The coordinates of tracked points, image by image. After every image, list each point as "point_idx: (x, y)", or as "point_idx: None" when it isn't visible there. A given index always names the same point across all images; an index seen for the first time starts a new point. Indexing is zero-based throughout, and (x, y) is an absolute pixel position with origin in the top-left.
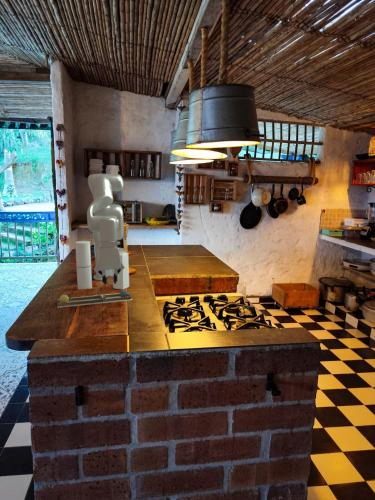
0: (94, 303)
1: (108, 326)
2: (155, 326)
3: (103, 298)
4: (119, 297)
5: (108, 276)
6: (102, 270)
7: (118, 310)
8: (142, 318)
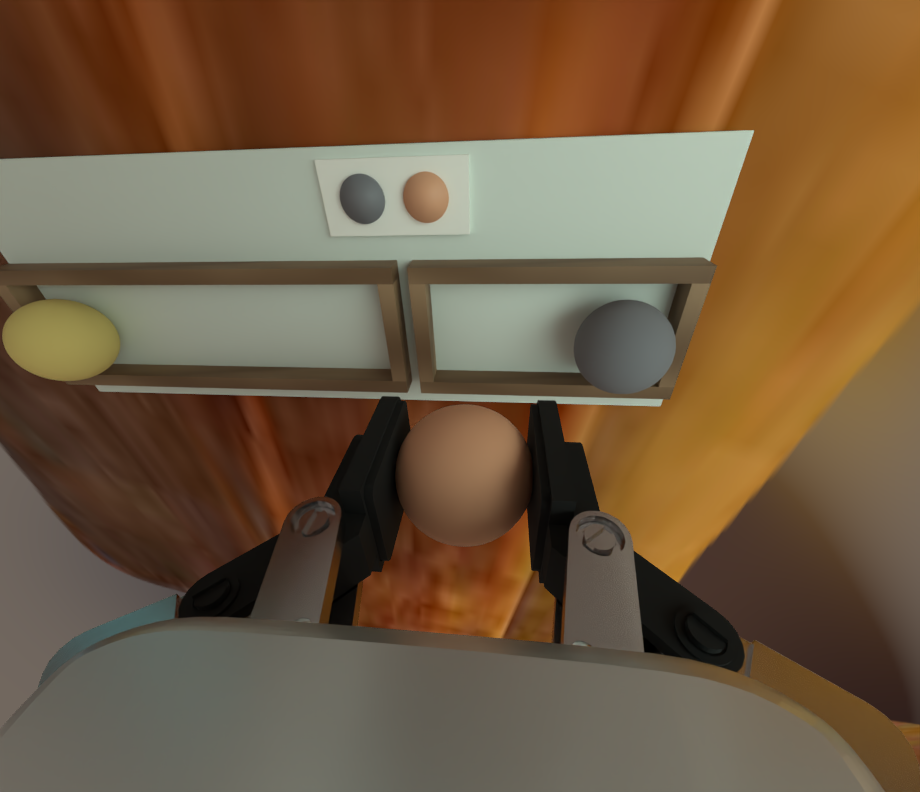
0: (346, 393)
1: (437, 599)
2: None
3: None
4: (556, 387)
5: (435, 535)
6: (277, 609)
7: None
8: None
